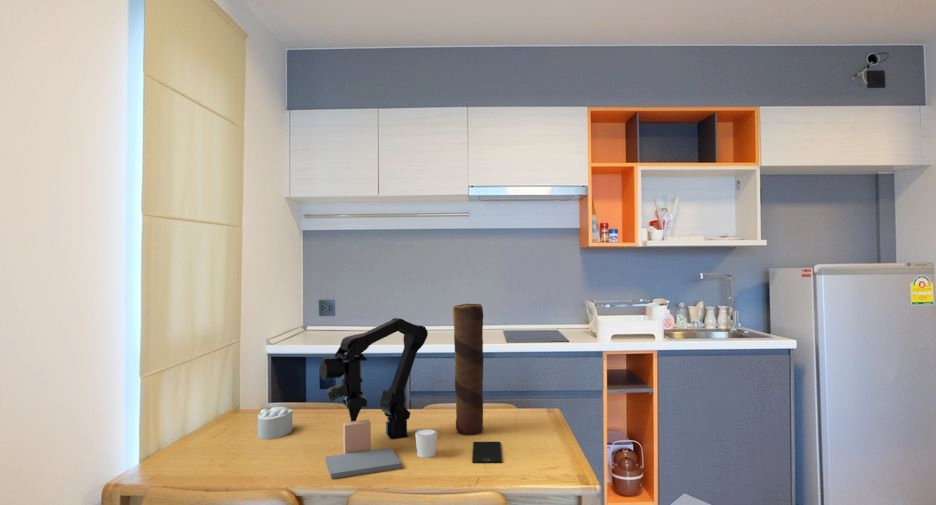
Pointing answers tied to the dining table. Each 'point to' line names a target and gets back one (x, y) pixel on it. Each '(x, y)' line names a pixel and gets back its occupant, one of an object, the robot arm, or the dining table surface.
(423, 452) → the shot glass
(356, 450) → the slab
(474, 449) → the cell phone
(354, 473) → the mat
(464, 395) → the wafer roll
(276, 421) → the lumpy-topped squat cylinder
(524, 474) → the dining table surface
